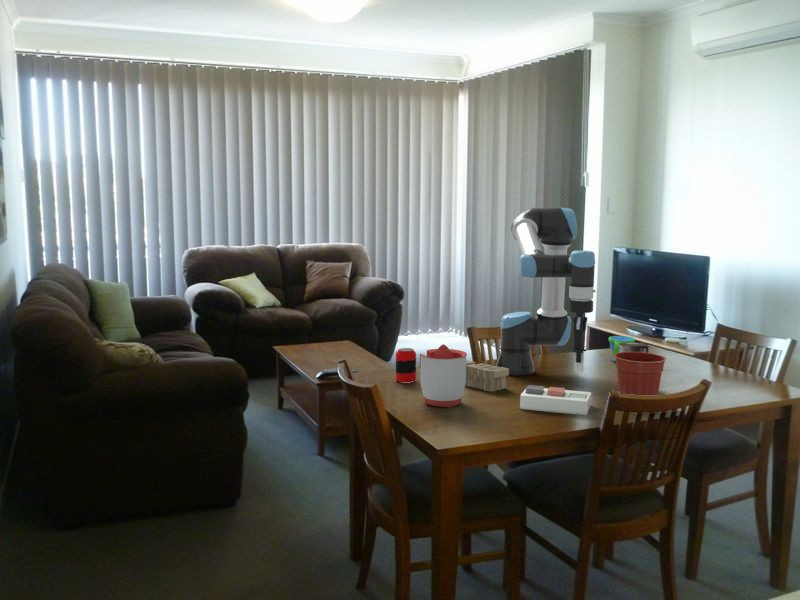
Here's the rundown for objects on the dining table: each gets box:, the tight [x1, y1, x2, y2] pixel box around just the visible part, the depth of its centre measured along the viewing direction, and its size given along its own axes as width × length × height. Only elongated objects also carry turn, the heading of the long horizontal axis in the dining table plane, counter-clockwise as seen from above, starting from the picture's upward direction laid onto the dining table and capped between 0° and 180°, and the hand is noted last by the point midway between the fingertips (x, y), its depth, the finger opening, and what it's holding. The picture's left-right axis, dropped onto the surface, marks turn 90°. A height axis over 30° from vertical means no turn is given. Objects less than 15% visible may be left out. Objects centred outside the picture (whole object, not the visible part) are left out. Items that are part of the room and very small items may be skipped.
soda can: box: [395, 347, 417, 382], centre depth 279 cm, size 8×8×12 cm
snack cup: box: [608, 335, 636, 364], centre depth 312 cm, size 16×10×10 cm
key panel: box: [519, 387, 592, 416], centre depth 245 cm, size 21×12×4 cm, turn 70°
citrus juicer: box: [416, 344, 468, 408], centre depth 249 cm, size 16×17×20 cm
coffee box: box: [619, 342, 650, 353], centre depth 270 cm, size 9×6×16 cm
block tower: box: [465, 360, 510, 393], centre depth 276 cm, size 8×8×29 cm
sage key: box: [570, 394, 587, 399], centre depth 242 cm, size 5×5×3 cm
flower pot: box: [614, 352, 667, 396], centre depth 248 cm, size 16×16×16 cm
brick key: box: [547, 386, 566, 397], centre depth 244 cm, size 5×5×3 cm
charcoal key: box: [525, 384, 545, 395], centre depth 247 cm, size 5×5×3 cm
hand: (578, 371), depth 241 cm, fingers closed
